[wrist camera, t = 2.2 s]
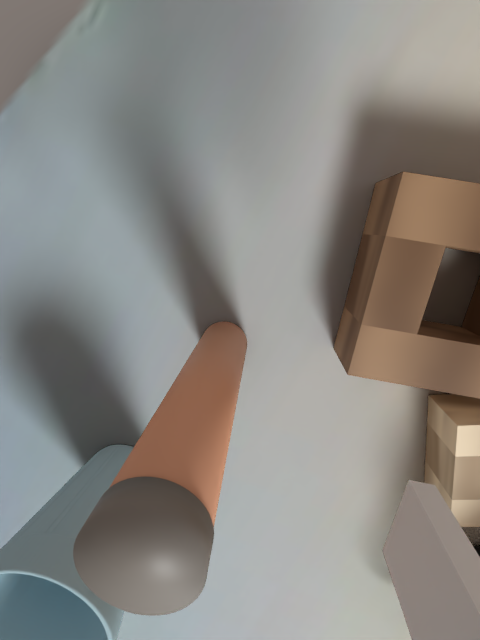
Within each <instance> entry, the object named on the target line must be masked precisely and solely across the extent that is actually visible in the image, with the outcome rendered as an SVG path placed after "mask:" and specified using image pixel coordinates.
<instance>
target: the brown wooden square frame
mask: <svg viewBox="0 0 480 640" xmlns="http://www.w3.org/2000/svg"><path fill="white" fill-rule="evenodd" d="M445 248H450V249H456V250H462V251H468V252H474V253H480V184H479V183H473V182H466V181H460V180H454V179H447V178H441V177H434V176H428V175H422V174H415V173H409V172H401V173H399V174H396V175H394V176H392V177H389V178H387V179H384V180H382V181H379V182H377V183H375V187H374V191H373V195H372V199H371V203H370V207H369V211H368V215H367V219H366V223H365V227H364V231H363V234H362V238H361V242H360V246H359V250H358V254H357V258H356V262H355V266H354V270H353V274H352V278H351V282H350V285H349V289H348V293H347V297H346V301H345V305H344V309H343V313H342V317H341V321H340V325H339V329H338V333H337V336H336V340H335V344H334V350H335V352H336V354H337V356H338V358H339V359H340V361H341V363H342V365H343V367H344V369H345V371H346V373H347V374H348V375H352V376H358V377H363V378H369V379H374V380H380V381H385V382H391V383H396V384H402V385H407V386H413V387H418V388H424V389H429V390H435V391H440V392H446V393H451V394H457V395H463V396H468V397H474V398H479V399H480V277H479V280H478V282H477V285H476V288H475V291H474V293H473V296H472V299H471V302H470V304H469V307H468V310H467V313H466V315H465V318H464V321H463V324H462V326H461V327H460V326H454V325H448V324H442V323H437V322H431V321H425V320H422V318H423V315H424V312H425V309H426V306H427V303H428V299H429V296H430V293H431V290H432V287H433V284H434V281H435V278H436V275H437V272H438V269H439V266H440V263H441V260H442V257H443V254H444V251H445Z"/></svg>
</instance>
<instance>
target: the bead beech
mask: <svg viewBox="0 0 480 640" xmlns="http://www.w3.org/2000/svg"><path fill="white" fill-rule="evenodd" d="M424 483H427V484H432V485H435V486H436V487H437V489H438V490H439V492H440V494H441V495H442V497H443V499H444V500H445V502H446V503H447V505H448V507H449V508H450V510H451V511H452V513H453V515H454V516H455V518H456V520H457V521H458V523H459V524H460V526H461V527H480V399H479V398H474V397H468V396H463V395H457V394H440V395H428V415H427V435H426V455H425V475H424Z"/></svg>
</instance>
